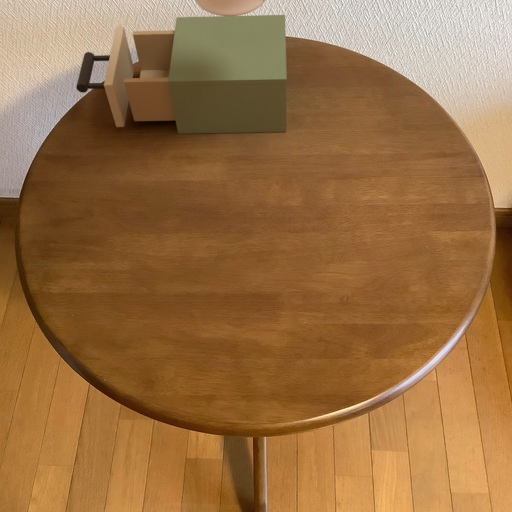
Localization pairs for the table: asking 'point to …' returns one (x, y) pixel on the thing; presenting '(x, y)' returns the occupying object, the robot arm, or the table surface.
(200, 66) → the cabinet
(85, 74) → the drawer
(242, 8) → the mug
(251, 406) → the table surface
